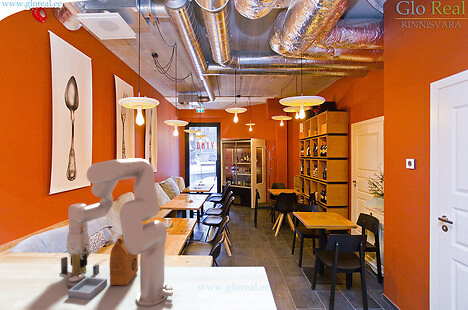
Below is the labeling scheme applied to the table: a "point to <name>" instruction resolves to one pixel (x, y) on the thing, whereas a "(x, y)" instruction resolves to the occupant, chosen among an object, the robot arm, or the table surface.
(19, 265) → the table surface
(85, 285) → the tray
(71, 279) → the crank
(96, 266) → the post
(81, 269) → the vase
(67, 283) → the disc
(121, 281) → the coffee package
